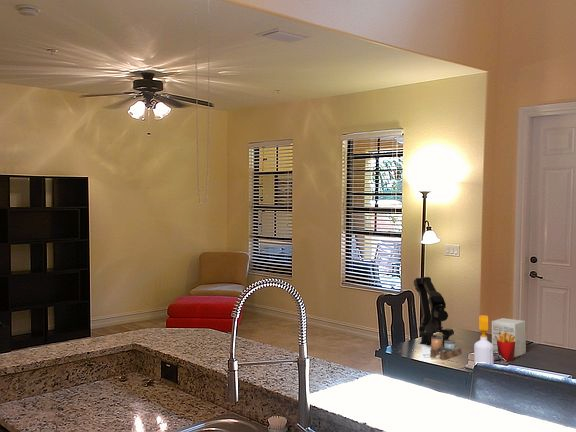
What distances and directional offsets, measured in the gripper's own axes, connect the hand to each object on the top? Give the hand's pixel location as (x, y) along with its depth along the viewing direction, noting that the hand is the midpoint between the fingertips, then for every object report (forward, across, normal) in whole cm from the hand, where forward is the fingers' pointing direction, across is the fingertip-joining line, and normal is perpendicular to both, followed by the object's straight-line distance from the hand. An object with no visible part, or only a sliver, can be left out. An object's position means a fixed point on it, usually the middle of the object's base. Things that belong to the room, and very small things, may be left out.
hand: (436, 345), depth 321 cm
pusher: (+2, +11, -12) cm, 16 cm away
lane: (+2, +11, -9) cm, 15 cm away
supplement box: (+2, +33, +18) cm, 38 cm away
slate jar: (+2, +11, -5) cm, 12 cm away
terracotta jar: (+2, 0, 0) cm, 2 cm away
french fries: (+2, +39, +1) cm, 39 cm away
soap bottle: (+2, +35, -15) cm, 38 cm away
